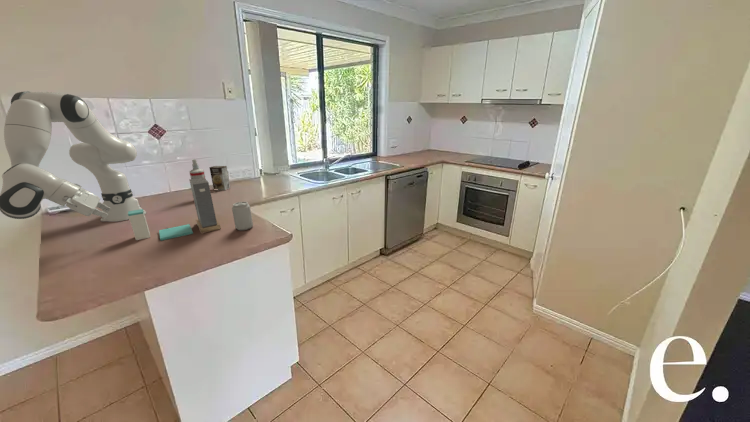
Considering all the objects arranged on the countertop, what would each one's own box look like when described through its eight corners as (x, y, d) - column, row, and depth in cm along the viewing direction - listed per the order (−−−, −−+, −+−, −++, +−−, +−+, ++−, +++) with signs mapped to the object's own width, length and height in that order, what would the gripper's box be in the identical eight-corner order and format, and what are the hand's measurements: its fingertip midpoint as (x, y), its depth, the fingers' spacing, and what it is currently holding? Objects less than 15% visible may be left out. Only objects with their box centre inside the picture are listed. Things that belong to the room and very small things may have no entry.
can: (236, 232, 134) (231, 206, 130) (235, 227, 140) (230, 202, 136) (254, 229, 137) (250, 203, 133) (252, 224, 143) (248, 199, 139)
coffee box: (213, 190, 208) (208, 167, 203) (219, 188, 214) (215, 165, 209) (225, 190, 207) (220, 167, 202) (231, 188, 213) (226, 165, 208)
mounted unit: (196, 223, 145) (186, 179, 138) (214, 220, 150) (205, 176, 143) (201, 233, 134) (190, 185, 127) (220, 228, 138) (211, 182, 131)
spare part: (136, 236, 132) (128, 211, 128) (150, 233, 135) (142, 208, 131) (135, 240, 128) (128, 214, 124) (150, 237, 131) (142, 211, 127)
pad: (159, 232, 136) (158, 230, 136) (189, 226, 143) (189, 224, 142) (160, 240, 127) (160, 238, 127) (193, 233, 134) (192, 231, 133)
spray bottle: (192, 200, 184) (183, 160, 177) (203, 197, 191) (195, 158, 183) (202, 201, 182) (192, 160, 174) (212, 198, 188) (204, 158, 180)
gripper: (67, 192, 106) (111, 213, 115) (77, 183, 122) (115, 201, 131) (54, 207, 105) (100, 226, 114) (66, 195, 121) (105, 213, 130)
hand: (108, 213), depth 122 cm, fingers open, 8 cm apart
